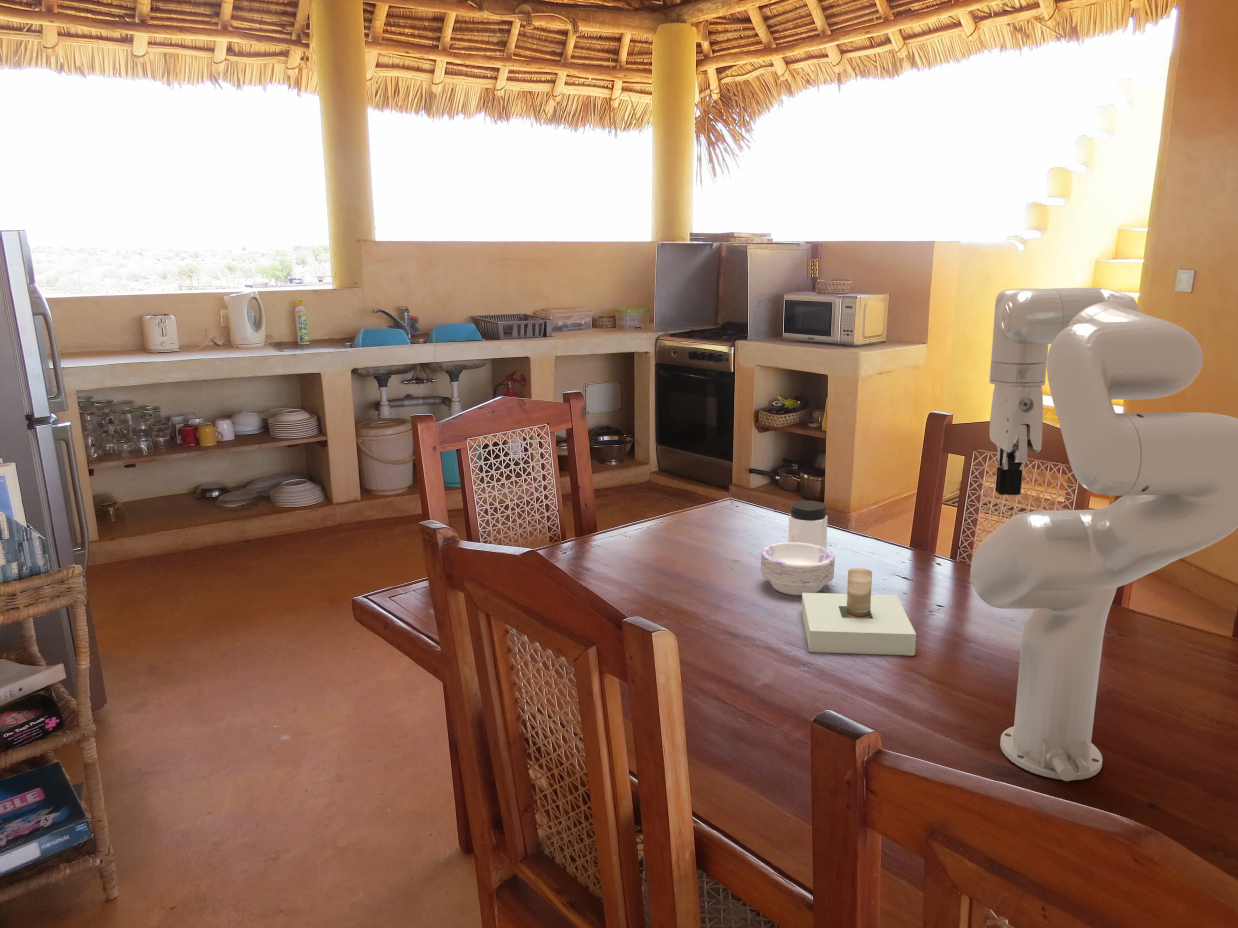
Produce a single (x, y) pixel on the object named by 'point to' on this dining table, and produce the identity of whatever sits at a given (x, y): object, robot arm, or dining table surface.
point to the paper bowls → (797, 567)
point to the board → (857, 626)
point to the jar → (808, 523)
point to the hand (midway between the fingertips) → (1007, 493)
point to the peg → (859, 593)
